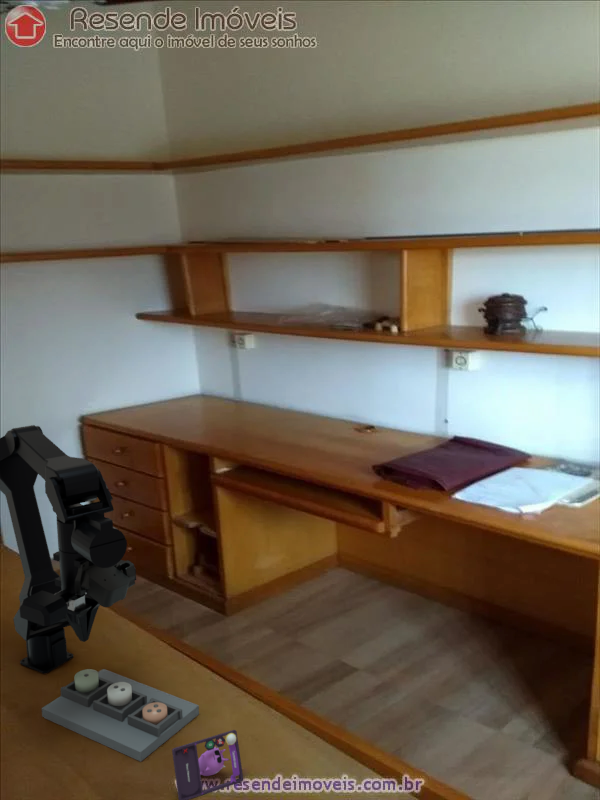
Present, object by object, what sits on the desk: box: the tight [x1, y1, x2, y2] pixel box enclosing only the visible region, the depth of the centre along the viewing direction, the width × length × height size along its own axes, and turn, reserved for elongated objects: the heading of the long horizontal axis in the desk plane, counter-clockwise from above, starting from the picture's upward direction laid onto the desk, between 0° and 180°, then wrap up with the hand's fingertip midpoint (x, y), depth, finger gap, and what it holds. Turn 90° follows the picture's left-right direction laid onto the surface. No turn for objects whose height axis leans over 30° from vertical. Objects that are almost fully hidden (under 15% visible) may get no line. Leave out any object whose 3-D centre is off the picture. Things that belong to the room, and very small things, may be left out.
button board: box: [41, 668, 200, 762], centre depth 121 cm, size 20×13×3 cm, turn 59°
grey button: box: [107, 682, 132, 706], centre depth 120 cm, size 4×4×2 cm
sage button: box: [74, 668, 99, 692], centre depth 124 cm, size 4×4×2 cm
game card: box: [171, 729, 244, 800], centre depth 106 cm, size 7×5×9 cm
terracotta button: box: [142, 702, 167, 725], centre depth 117 cm, size 4×4×2 cm
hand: (83, 640), depth 122 cm, fingers closed
